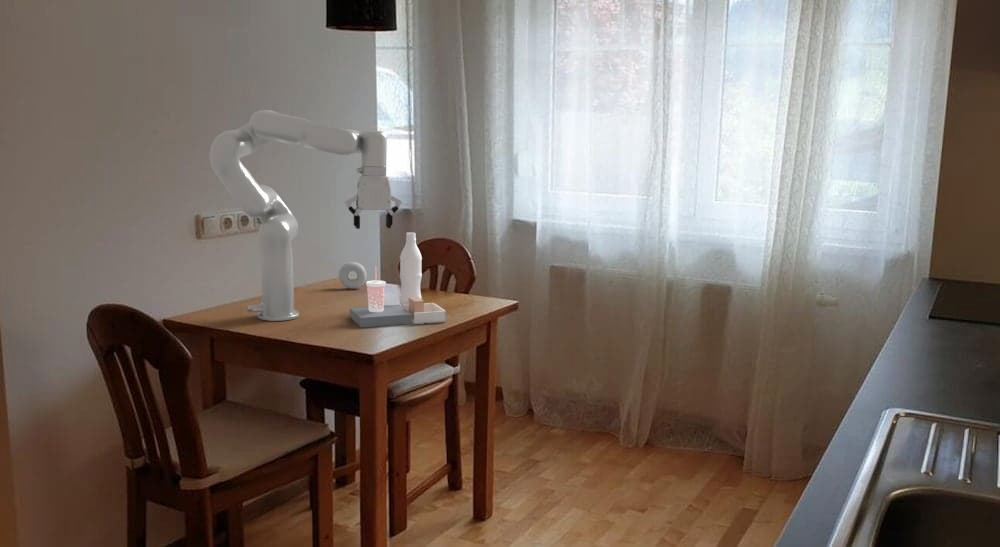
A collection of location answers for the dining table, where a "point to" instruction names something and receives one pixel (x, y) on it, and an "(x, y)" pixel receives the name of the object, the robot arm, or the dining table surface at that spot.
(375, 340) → the dining table surface
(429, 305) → the tray
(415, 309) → the terracotta tile
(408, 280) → the water bottle
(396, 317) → the slate board
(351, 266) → the donut
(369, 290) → the beverage cup
